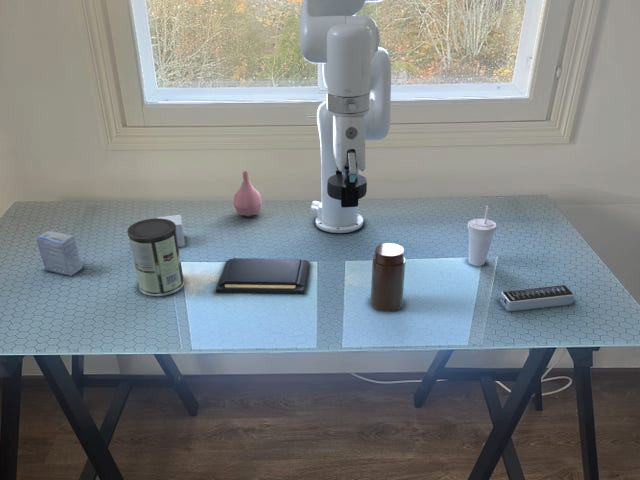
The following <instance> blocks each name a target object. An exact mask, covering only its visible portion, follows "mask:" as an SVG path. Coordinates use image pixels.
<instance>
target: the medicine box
mask: <svg viewBox="0 0 640 480" xmlns="http://www.w3.org/2000/svg"><path fill="white" fill-rule="evenodd" d="M35 240H36V243H37V247H38V250H39V254H40V257H41V260H42V264H43V266H45V267H44V270H45V271H47V272H52V273H57V274H60V275H65V276H69V277H72V276H74V275H75V274H76V273H78V272H79V271H81V270H82V269H83V264H82V260H81V257H80V253H79V249H78V245H77V241H76V238H75V236H74V235H71V234H67V233H62V232H58V231H52V230H47V231H45V232H43V233H42V234H40V235H39V236H37V237H36V238H35ZM46 267H48V268H46ZM50 268H52V269H50ZM54 269H56V270H54ZM59 270H60V271H59ZM63 271H64V272H63Z"/></svg>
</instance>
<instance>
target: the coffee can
mask: <svg viewBox="0 0 640 480" xmlns="http://www.w3.org/2000/svg"><path fill="white" fill-rule="evenodd" d="M126 231H127V232H126V233H127V236H128V238H129V243H130V249H131V253H132V258H133V263H134V268H135V273H136V279H137V283H138V290H139V291H140V292H141V294H142V295H146V296H150V297H165V296H169V295H172V294H175V293H177V292H179V291H180V290H181V289H183V287H184V285H185V279H184V274H183V268H182V267H183V266H182V261H181V256H180V250H179V249H180V247H178V241H177V235H176V225H175V223H174V222H172V221H170V220H167V219H160V218H157V217H156V218H147V219H142V220H139V221H137V222H135V223H132V224H131V225H130V226H129V227H128V228H127V229H126Z"/></svg>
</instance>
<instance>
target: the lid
mask: <svg viewBox="0 0 640 480" xmlns="http://www.w3.org/2000/svg"><path fill="white" fill-rule="evenodd" d="M347 176H349V174H346V178H347ZM367 182H368V181H367V178H366V177H365V176H363V175H361V174H359V175H358V186H359V194H358V200H359V199H362V198H364V197H365V196H366V194H367V191H368V190H367V188H368V183H367ZM341 186H343V180H342V173H341V174H336V175H333V176H331V177H329V178H328V183H327V193H328V195H329V196H330V197H331V198H334V199H337V200H341Z"/></svg>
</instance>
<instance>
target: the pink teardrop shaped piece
mask: <svg viewBox="0 0 640 480" xmlns="http://www.w3.org/2000/svg"><path fill="white" fill-rule="evenodd" d="M249 177H250V176H249V171H247V170H244V171H242V182H241V185H240V187H239V189H238V190H237V191H236V192H235V194H234V196H233V206H234V208H235V211H236V213H237V214H238V215H241V216H244V217H248V218H249V217H253V215H256V214H259V213H260V212H261V208H262V205H263V201H262V197H261V193H260V192H259V191H258V190H257V189H256V188H254V187H253V185H252V183H251V181H250V178H249Z"/></svg>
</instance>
